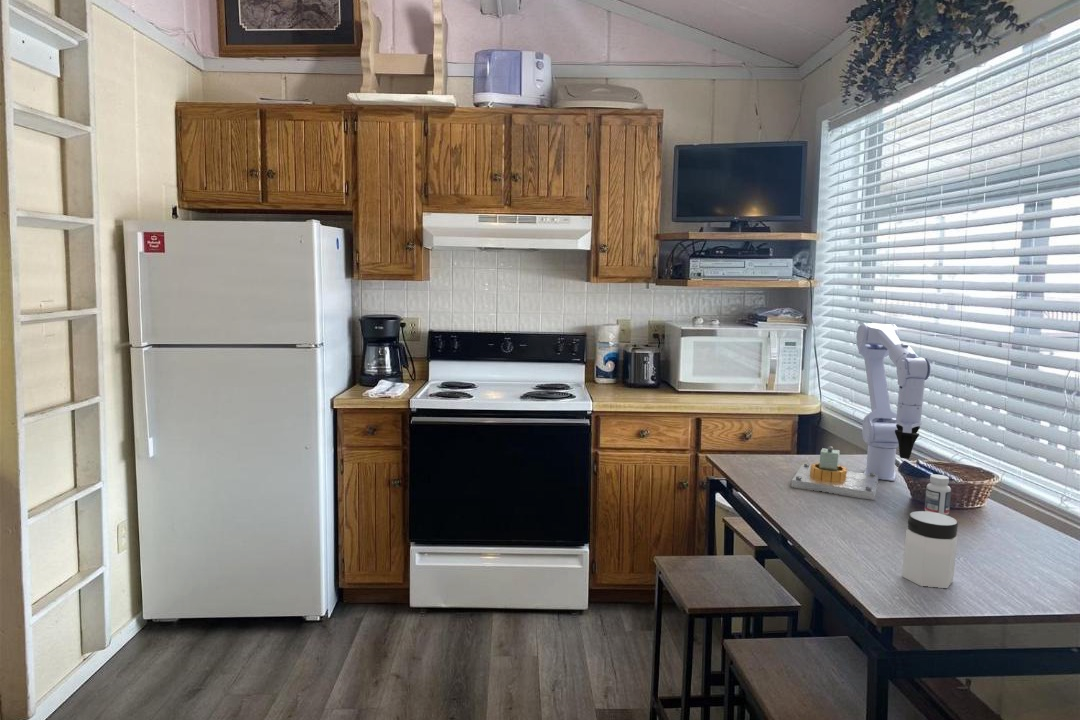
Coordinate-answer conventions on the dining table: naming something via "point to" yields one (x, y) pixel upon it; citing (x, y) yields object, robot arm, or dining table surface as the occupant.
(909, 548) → the jar
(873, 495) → the bolted plate with ring
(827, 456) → the mint green square pillar
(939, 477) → the pill bottle
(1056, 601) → the dining table surface
